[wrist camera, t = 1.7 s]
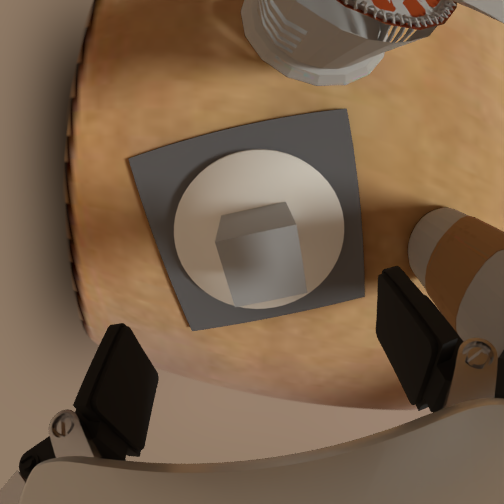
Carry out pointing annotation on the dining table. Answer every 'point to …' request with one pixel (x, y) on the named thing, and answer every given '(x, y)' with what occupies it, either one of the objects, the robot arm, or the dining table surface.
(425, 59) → the dining table surface
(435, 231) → the coffee cup
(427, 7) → the french press
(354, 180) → the mat
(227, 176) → the lid
